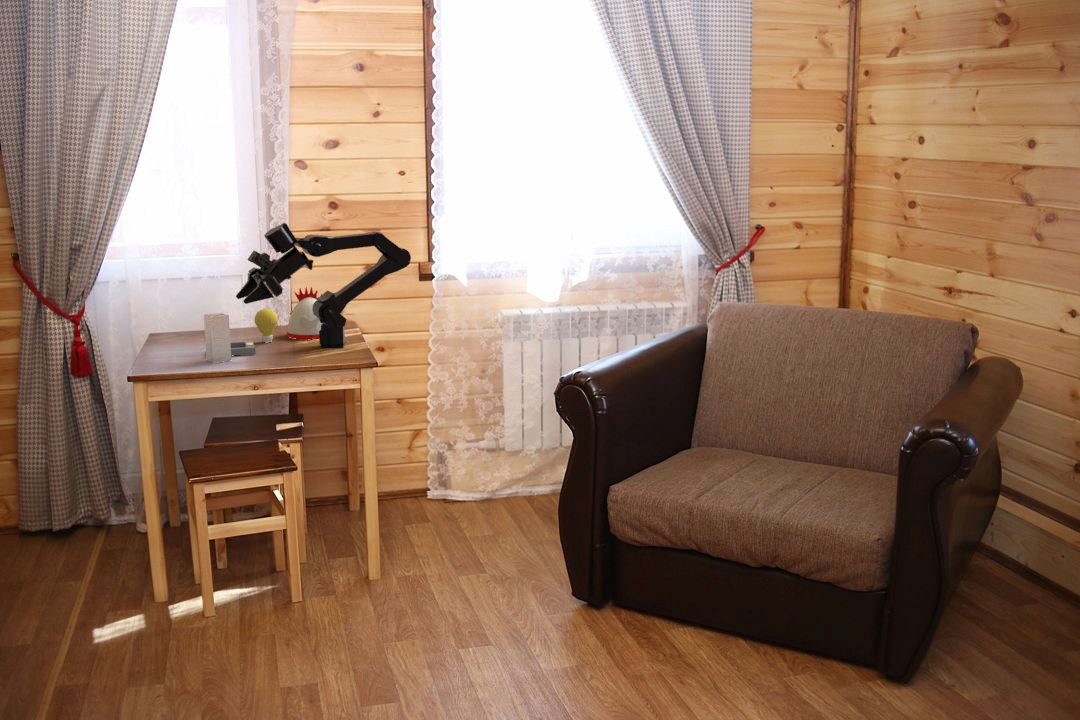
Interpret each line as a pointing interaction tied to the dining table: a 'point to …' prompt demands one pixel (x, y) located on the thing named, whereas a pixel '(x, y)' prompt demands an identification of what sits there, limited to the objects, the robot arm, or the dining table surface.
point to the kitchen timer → (304, 317)
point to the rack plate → (242, 348)
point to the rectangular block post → (217, 337)
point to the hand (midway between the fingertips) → (240, 300)
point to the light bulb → (266, 323)
